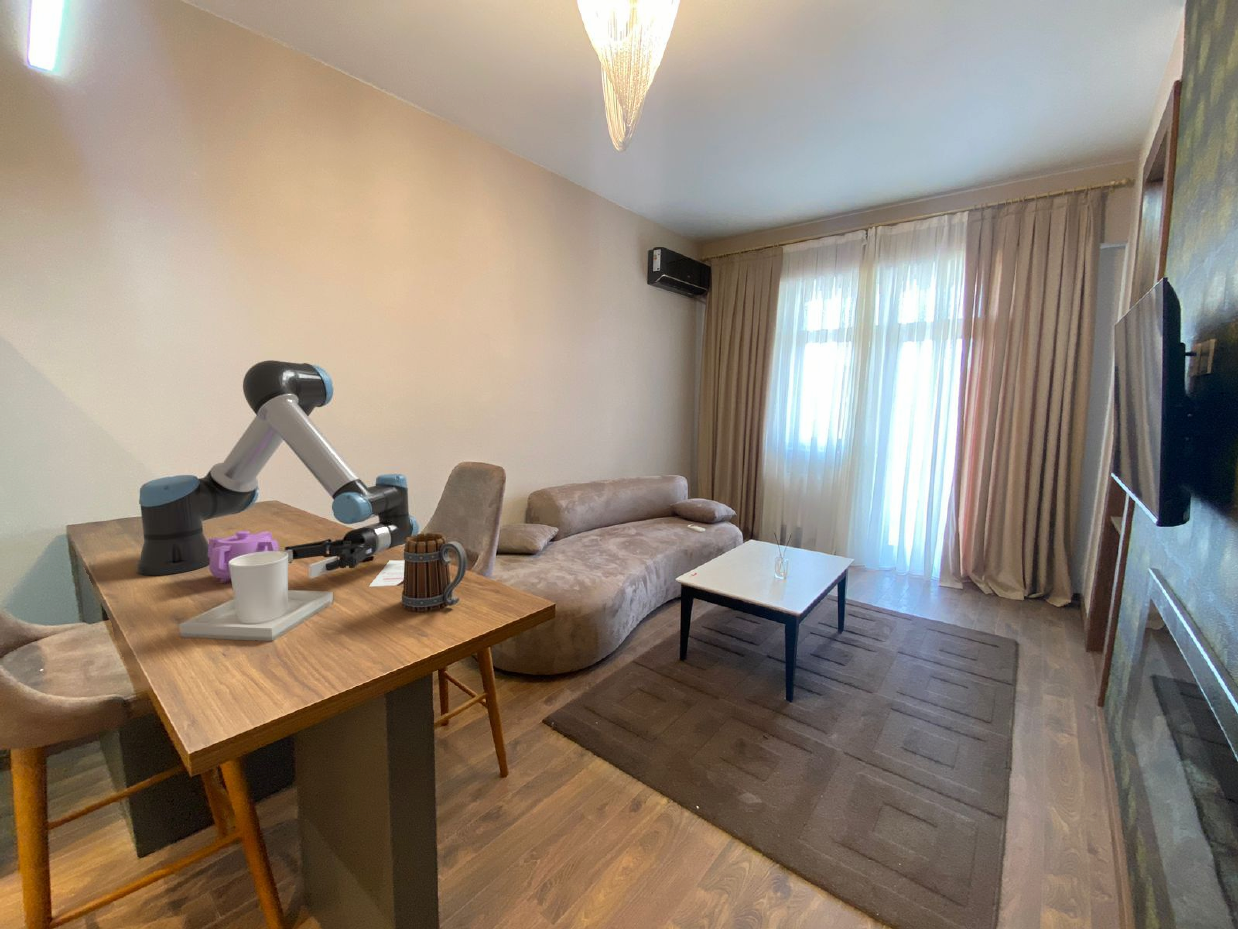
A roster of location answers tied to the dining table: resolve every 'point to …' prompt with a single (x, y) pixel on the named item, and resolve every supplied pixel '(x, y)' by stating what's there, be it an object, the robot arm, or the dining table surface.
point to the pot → (236, 550)
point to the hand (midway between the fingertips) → (286, 567)
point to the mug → (430, 572)
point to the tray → (227, 626)
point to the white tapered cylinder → (260, 586)
